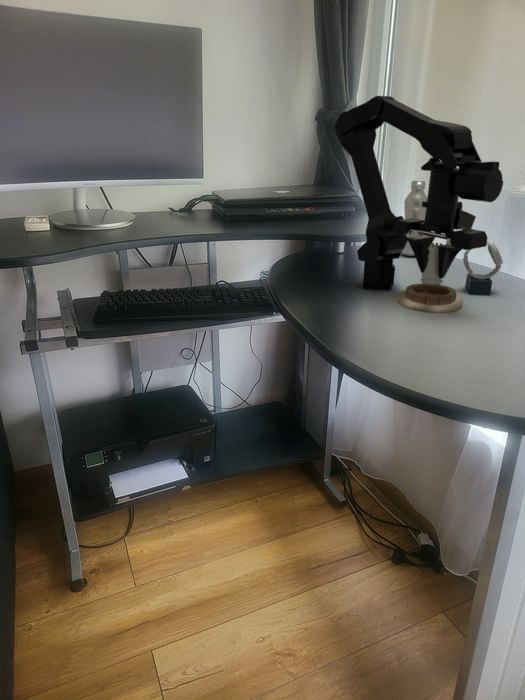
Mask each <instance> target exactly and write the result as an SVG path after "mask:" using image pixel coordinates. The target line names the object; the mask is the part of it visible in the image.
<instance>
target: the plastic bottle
mask: <svg viewBox="0 0 525 700" xmlns="http://www.w3.org/2000/svg"><path fill="white" fill-rule="evenodd" d="M410 184H411V186H410V189H411V191H409V193H408V194H407V196H406V197H405V199H404V203H403V205H404V219H410V218H415V219H420V220H425V213H426V207H422V202H423V201H427V196H428V195H427V194H426V192H425V190H426V181H424V180H423V181H422V180H413V181H411V183H410ZM406 235H407V238H408V237H409V231H408V234H406ZM401 255H404V256H408V257H415V255H414V252H413V250H412V248H411V246H410V244H409V242H408V241H407V244H406V245H405V248H404V249H403V250H402V252H401Z"/></svg>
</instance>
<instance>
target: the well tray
mask: <svg viewBox="0 0 525 700" xmlns="http://www.w3.org/2000/svg"><path fill="white" fill-rule="evenodd" d="M397 302H398V303H399V304H400V305H401V306H402V307H405V308H407V309H410V310H414V311H417V312H418V311H419V312H425V313H440V314H441V313H451V312H456V311H458V310H460V309H462V307H463V304H464V299H463V297H461V296H460V295H458V294H457V291H456V289H455V288H452V287H450V286H447V285H444V284H443V285H442V284H440V285H427V284H424V283H422V282H421V283H413V284H410V285H408V286H406V289H405V290H403V291H400V292H399V293H398V294H397Z"/></svg>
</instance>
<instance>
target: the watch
mask: <svg viewBox="0 0 525 700" xmlns="http://www.w3.org/2000/svg"><path fill="white" fill-rule="evenodd" d="M486 246H487V250H488V253H489V255H490V257H491V259H492V261H493V263H494V264H495V267H494V269H492V271H490V272H489V273H486V274H477V273H476V274H475V273H473V270H472V269H471V267H470V264H469V259H468V258H469V257H468V256H469V255H468V254H469V253H470V251H472V249H470V250H464V251H465V252H464V254H463V257H462V260H463V261H462V262H463V265H464V267H465V270H466V271H467V273H466V279H465V283H464V284H465V285H464V288H465V290H466V291H467V293H468V295H471V296H473V295H474V296H491V293H492V285H493V280H492V279H491V278H492V277H494V276H495V275H496V274H498V272H499V271H500V270H501V268H502V264H503V263H504V261H503V258H502V255H501V253H500V250H499V249H498V247H497V246H496V244H495V242H492V243H491V242H490V241H488V240H487V244H486Z"/></svg>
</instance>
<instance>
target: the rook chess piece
mask: <svg viewBox="0 0 525 700" xmlns="http://www.w3.org/2000/svg"><path fill="white" fill-rule="evenodd" d="M441 245H444V244H443V243H441V242H440V243H439V242H435V243H434V242H432V243H430V246H429V247H428V248H427V249H428V250H429V255H428V257H429V258H428V263H427V267H426V269H425V270H424V272H423V273H421V278H420V281H421V283H424V284H427V285H442V283H443V282H444V281H443V278H439V271H438V258H439V255H438V247H439V246H441Z"/></svg>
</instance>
